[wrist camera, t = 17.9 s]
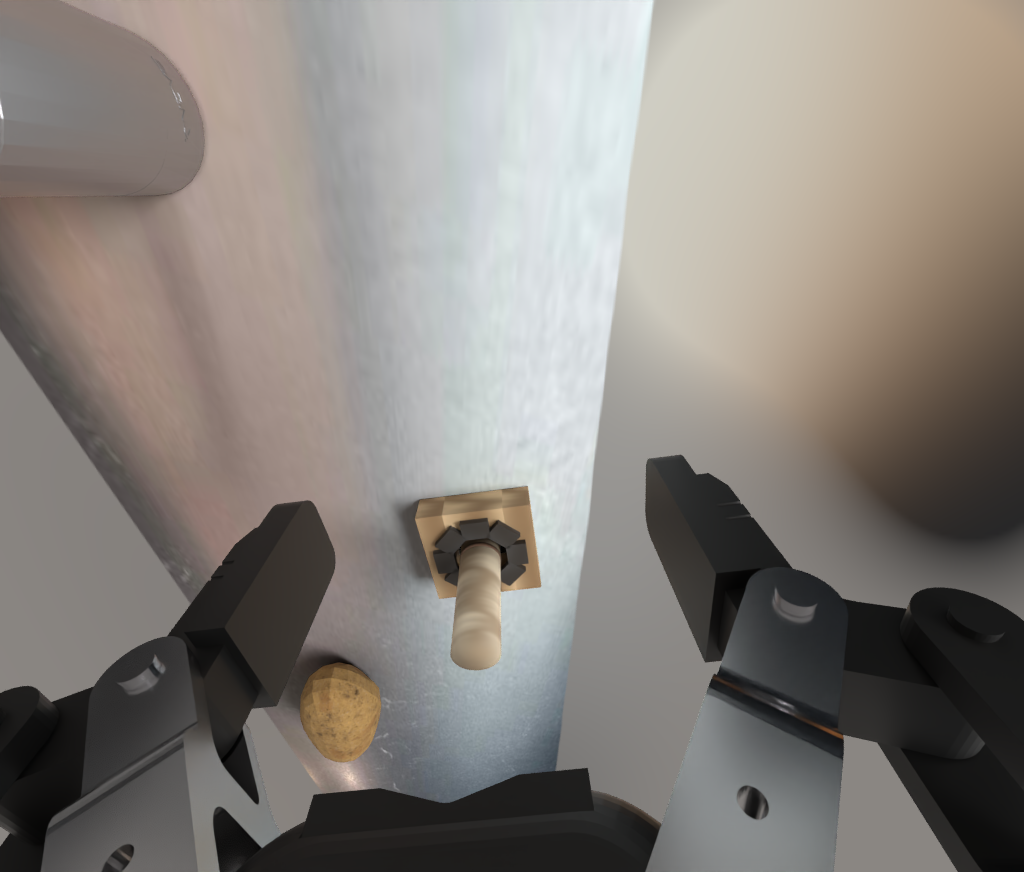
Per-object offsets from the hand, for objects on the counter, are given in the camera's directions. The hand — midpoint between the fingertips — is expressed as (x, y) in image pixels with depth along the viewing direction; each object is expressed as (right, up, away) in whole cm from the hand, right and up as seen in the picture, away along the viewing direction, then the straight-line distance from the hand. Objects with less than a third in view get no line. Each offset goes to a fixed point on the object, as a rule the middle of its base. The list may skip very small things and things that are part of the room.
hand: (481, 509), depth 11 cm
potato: (-20, -30, +48) cm, 60 cm away
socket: (-2, -9, +37) cm, 38 cm away
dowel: (-3, -9, +37) cm, 38 cm away
